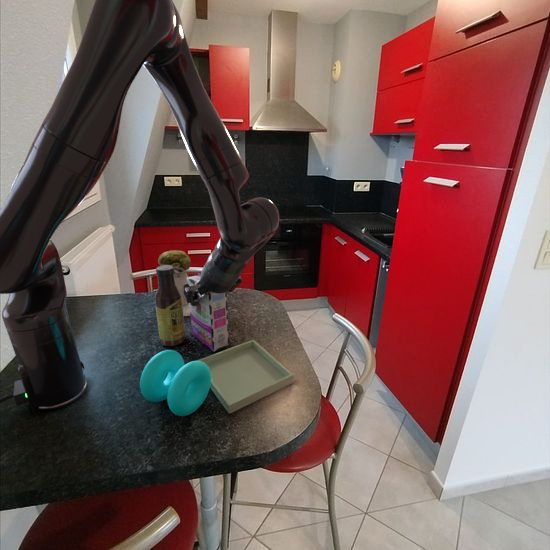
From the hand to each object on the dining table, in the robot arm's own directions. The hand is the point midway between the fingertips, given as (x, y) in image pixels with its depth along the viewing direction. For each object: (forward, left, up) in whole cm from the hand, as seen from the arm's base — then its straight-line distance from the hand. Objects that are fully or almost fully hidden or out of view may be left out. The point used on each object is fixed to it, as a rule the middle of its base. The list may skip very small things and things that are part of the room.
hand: (204, 299), depth 80 cm
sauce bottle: (-8, +3, -11) cm, 14 cm away
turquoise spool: (-14, -19, -11) cm, 26 cm away
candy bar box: (0, -2, -11) cm, 11 cm away
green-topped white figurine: (-1, +19, -11) cm, 22 cm away
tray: (0, -19, -11) cm, 22 cm away
